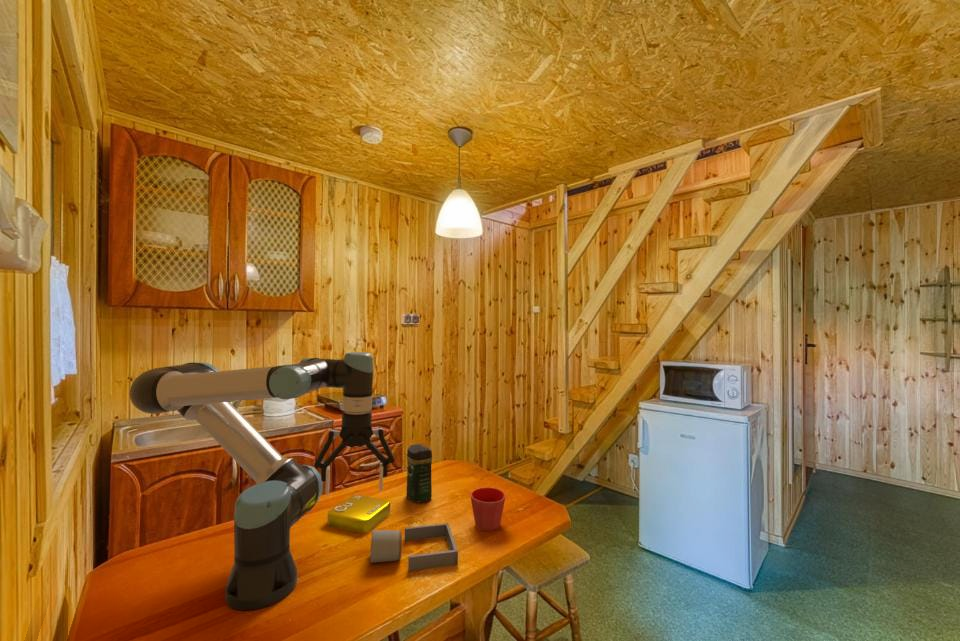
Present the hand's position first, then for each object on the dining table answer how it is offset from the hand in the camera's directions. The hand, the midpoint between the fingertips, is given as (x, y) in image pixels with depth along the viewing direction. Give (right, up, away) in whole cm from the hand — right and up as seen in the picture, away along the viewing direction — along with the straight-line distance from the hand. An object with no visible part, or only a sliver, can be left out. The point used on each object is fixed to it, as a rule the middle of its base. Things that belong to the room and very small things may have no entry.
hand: (354, 490), depth 109 cm
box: (+19, -19, +5) cm, 27 cm away
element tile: (-5, -19, +23) cm, 30 cm away
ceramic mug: (+8, -19, +2) cm, 20 cm away
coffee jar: (+12, -19, +38) cm, 44 cm away
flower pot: (+36, -19, +20) cm, 45 cm away
